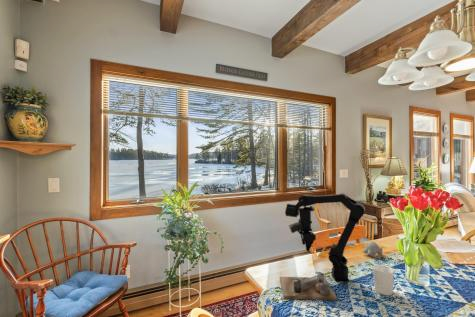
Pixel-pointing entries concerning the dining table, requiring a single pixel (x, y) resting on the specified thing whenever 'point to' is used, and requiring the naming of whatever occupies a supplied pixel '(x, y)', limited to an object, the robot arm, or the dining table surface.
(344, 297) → the dining table surface
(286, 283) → the base
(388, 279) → the white cup
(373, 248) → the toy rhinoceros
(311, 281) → the lever
